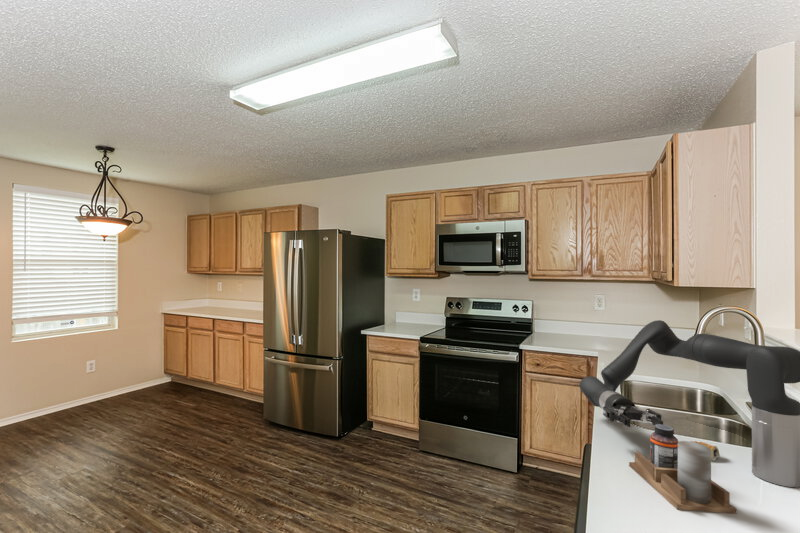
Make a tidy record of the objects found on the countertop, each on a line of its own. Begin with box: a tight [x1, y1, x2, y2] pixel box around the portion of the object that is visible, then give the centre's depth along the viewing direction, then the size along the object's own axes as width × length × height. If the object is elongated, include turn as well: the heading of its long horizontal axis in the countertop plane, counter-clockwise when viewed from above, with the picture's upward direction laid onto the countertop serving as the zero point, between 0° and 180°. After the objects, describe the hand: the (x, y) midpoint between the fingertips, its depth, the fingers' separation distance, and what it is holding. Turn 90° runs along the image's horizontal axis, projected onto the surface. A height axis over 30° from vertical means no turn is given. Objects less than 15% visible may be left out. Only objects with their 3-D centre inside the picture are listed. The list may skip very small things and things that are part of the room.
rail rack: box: [628, 440, 737, 514], centre depth 94 cm, size 12×20×12 cm, turn 176°
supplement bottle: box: [649, 424, 679, 469], centre depth 99 cm, size 6×6×11 cm
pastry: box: [689, 440, 721, 462], centre depth 113 cm, size 9×7×4 cm
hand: (645, 424), depth 108 cm, fingers open, 8 cm apart
